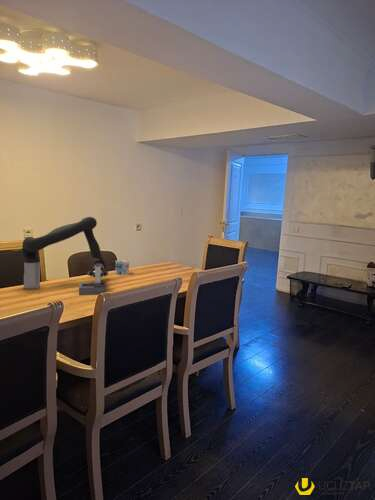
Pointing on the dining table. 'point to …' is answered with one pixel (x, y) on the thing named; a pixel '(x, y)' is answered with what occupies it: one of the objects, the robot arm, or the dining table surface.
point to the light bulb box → (122, 267)
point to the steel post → (97, 274)
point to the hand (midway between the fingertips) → (97, 275)
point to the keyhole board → (92, 288)
